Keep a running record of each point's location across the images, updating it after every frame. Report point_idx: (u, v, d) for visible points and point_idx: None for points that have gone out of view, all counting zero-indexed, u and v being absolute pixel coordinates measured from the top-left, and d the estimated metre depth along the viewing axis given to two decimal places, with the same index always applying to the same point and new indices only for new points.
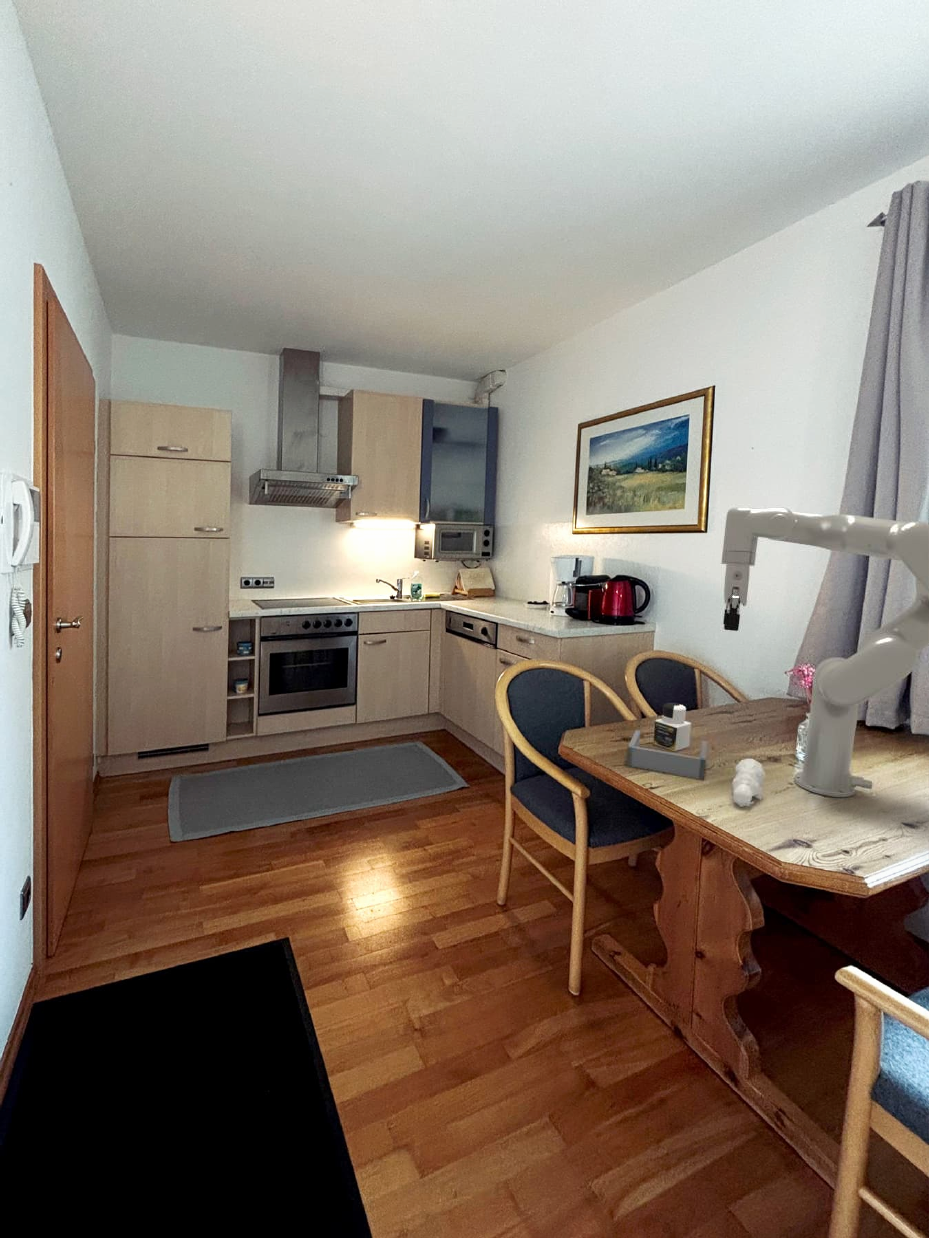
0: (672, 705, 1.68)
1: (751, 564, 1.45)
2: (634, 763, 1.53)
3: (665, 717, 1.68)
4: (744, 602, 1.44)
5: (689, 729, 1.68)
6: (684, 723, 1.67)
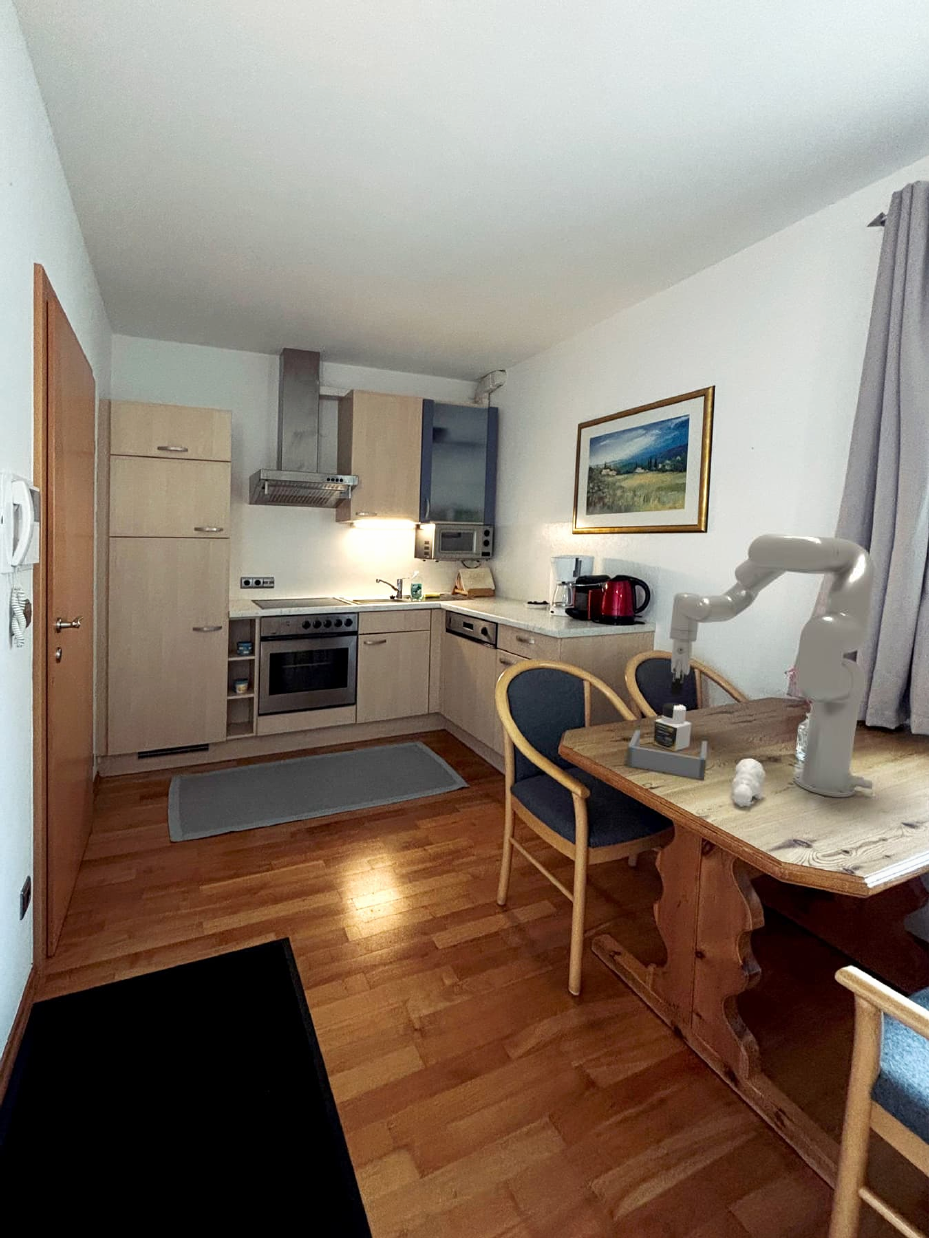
0: (672, 705, 1.68)
1: (693, 640, 1.75)
2: (634, 763, 1.53)
3: (665, 717, 1.68)
4: (686, 672, 1.74)
5: (689, 729, 1.68)
6: (684, 723, 1.67)
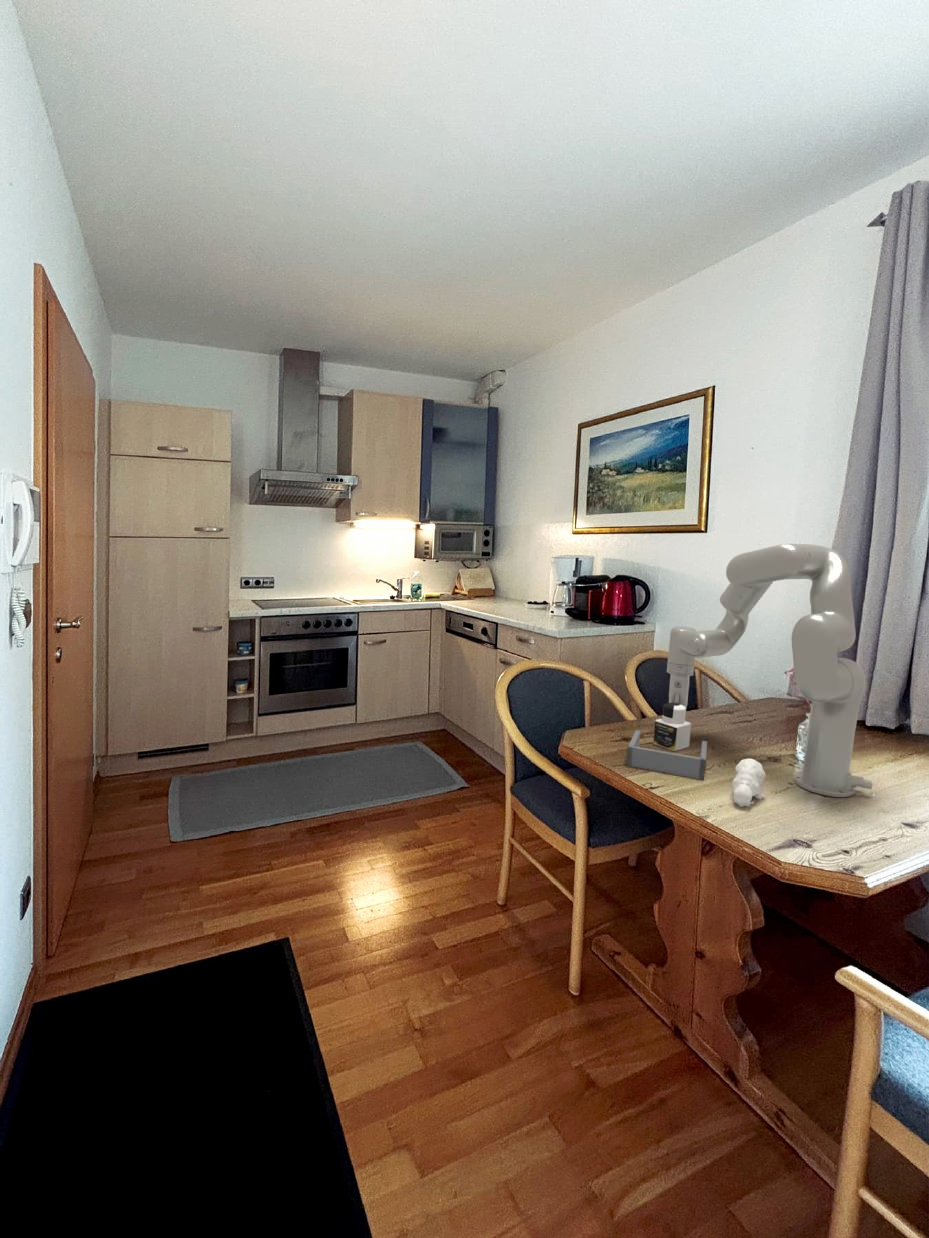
0: (672, 705, 1.68)
1: (690, 674, 1.76)
2: (634, 763, 1.53)
3: (665, 717, 1.68)
4: None
5: (689, 729, 1.68)
6: (684, 723, 1.67)
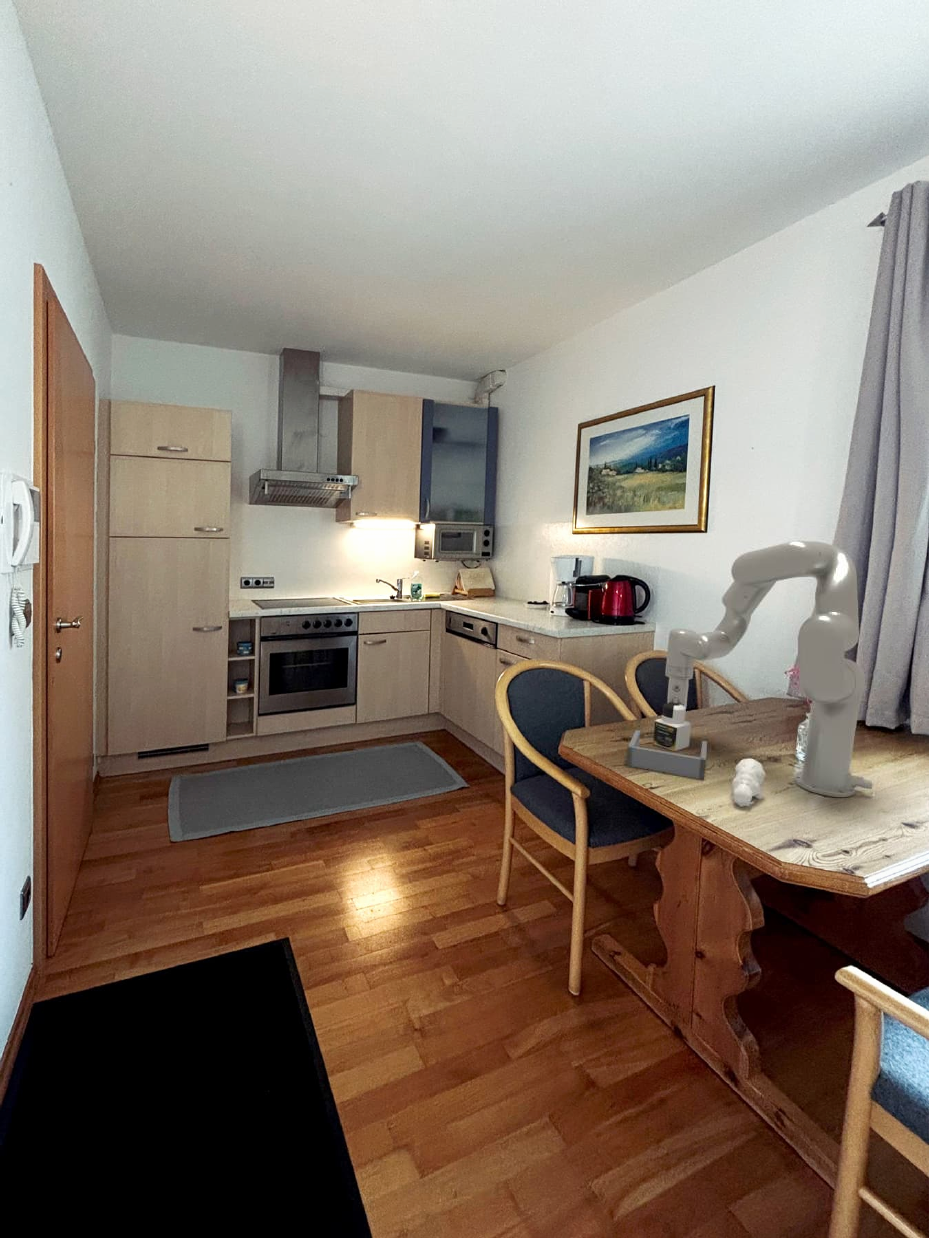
0: (672, 705, 1.68)
1: (689, 678, 1.71)
2: (634, 763, 1.53)
3: (665, 717, 1.68)
4: None
5: (689, 729, 1.68)
6: (684, 723, 1.67)
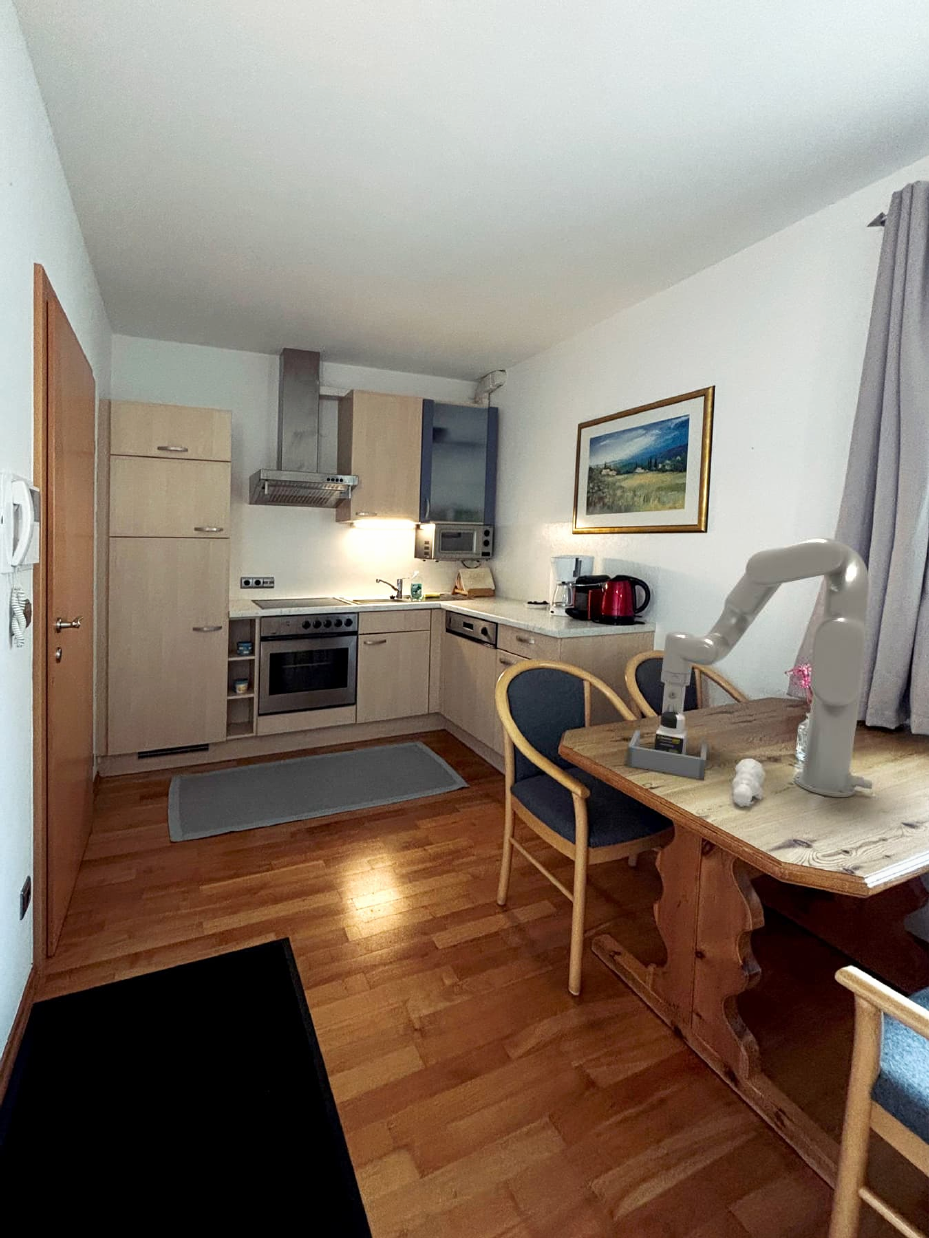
0: (673, 715, 1.58)
1: (685, 684, 1.62)
2: (634, 763, 1.53)
3: (667, 728, 1.58)
4: None
5: (686, 737, 1.61)
6: (683, 732, 1.60)
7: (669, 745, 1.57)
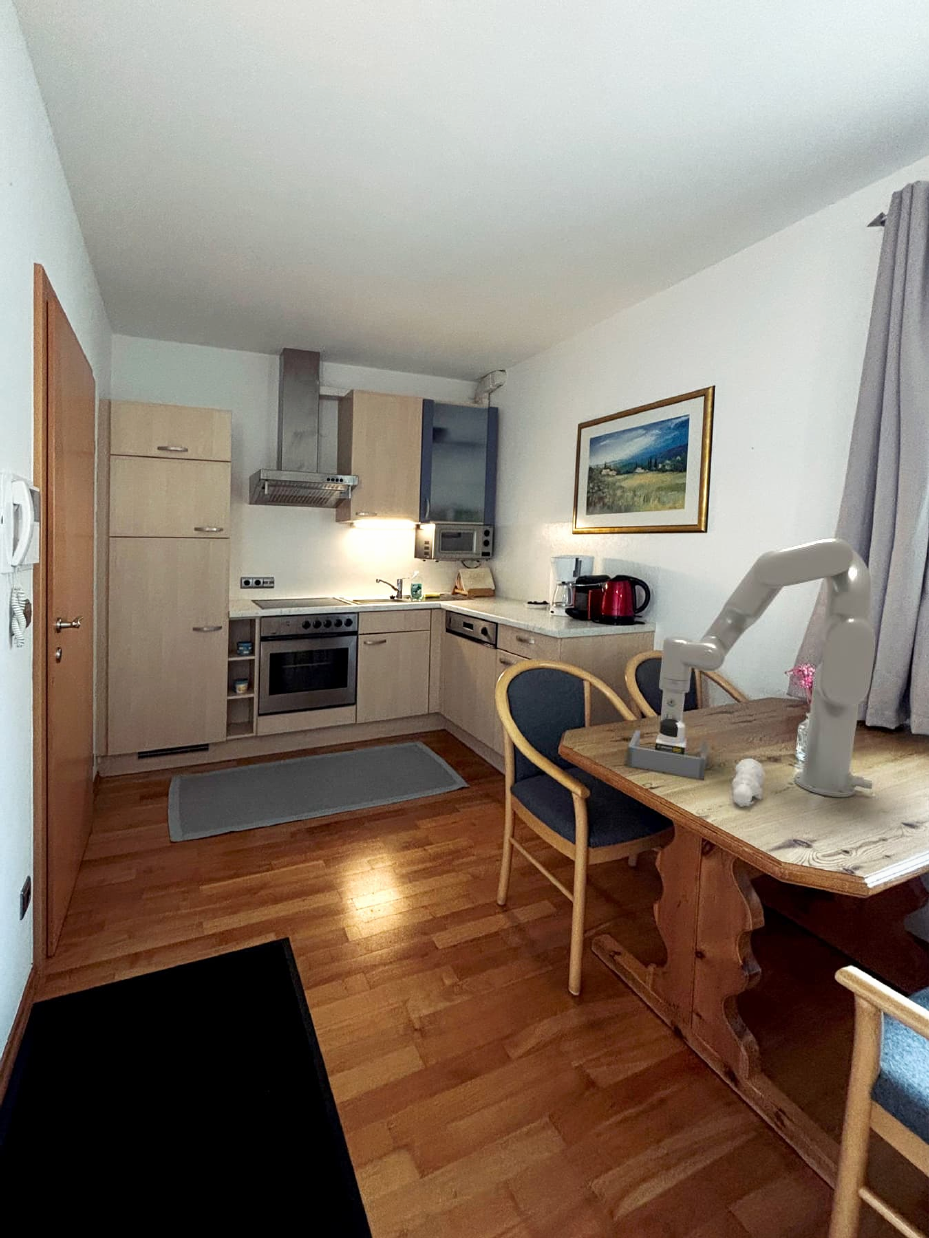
0: (673, 722, 1.51)
1: (685, 691, 1.55)
2: (634, 763, 1.53)
3: (668, 737, 1.51)
4: None
5: None
6: (683, 740, 1.53)
7: None
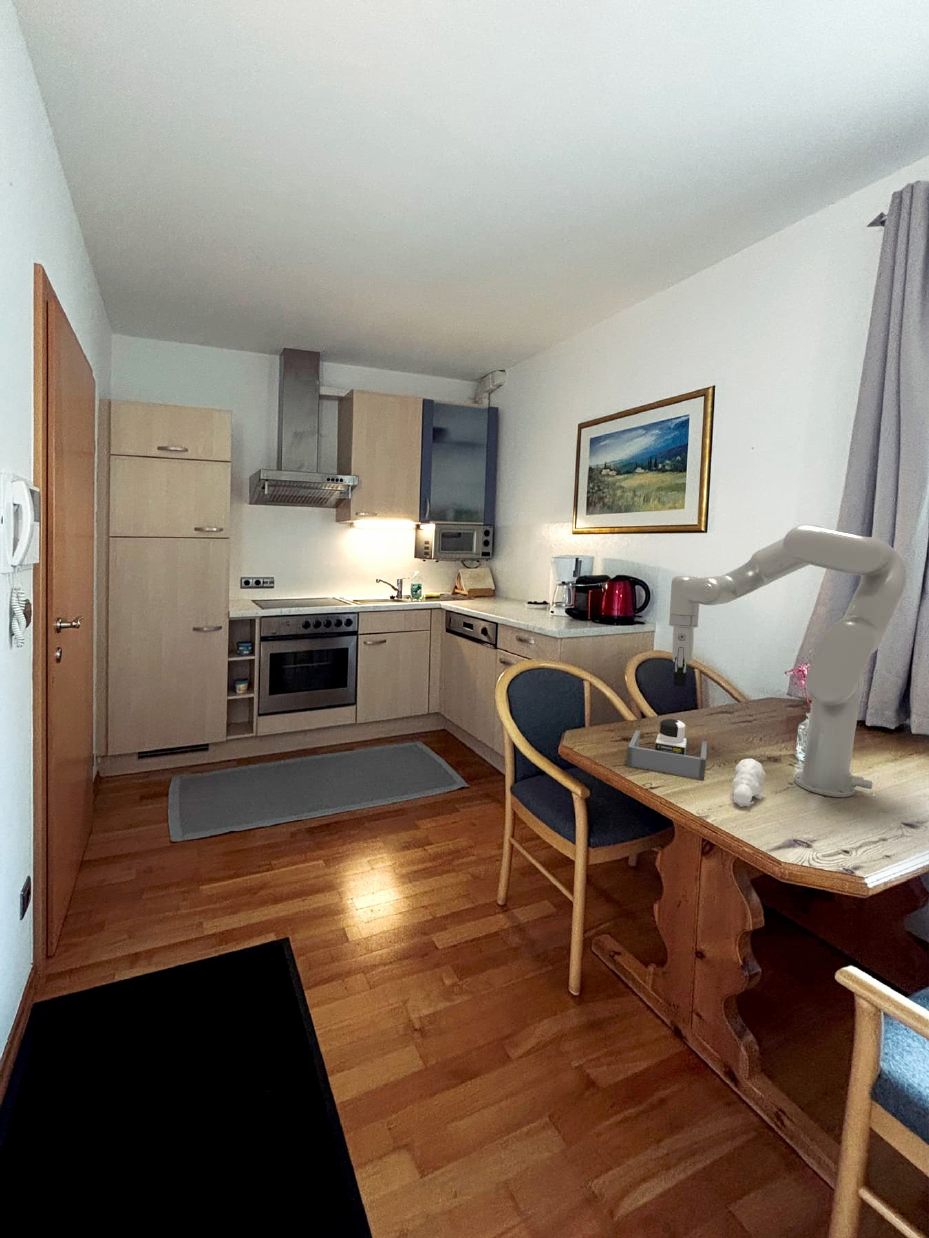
0: (673, 722, 1.51)
1: (694, 626, 1.63)
2: (634, 763, 1.53)
3: (668, 737, 1.51)
4: (689, 660, 1.62)
5: None
6: (683, 740, 1.53)
7: None
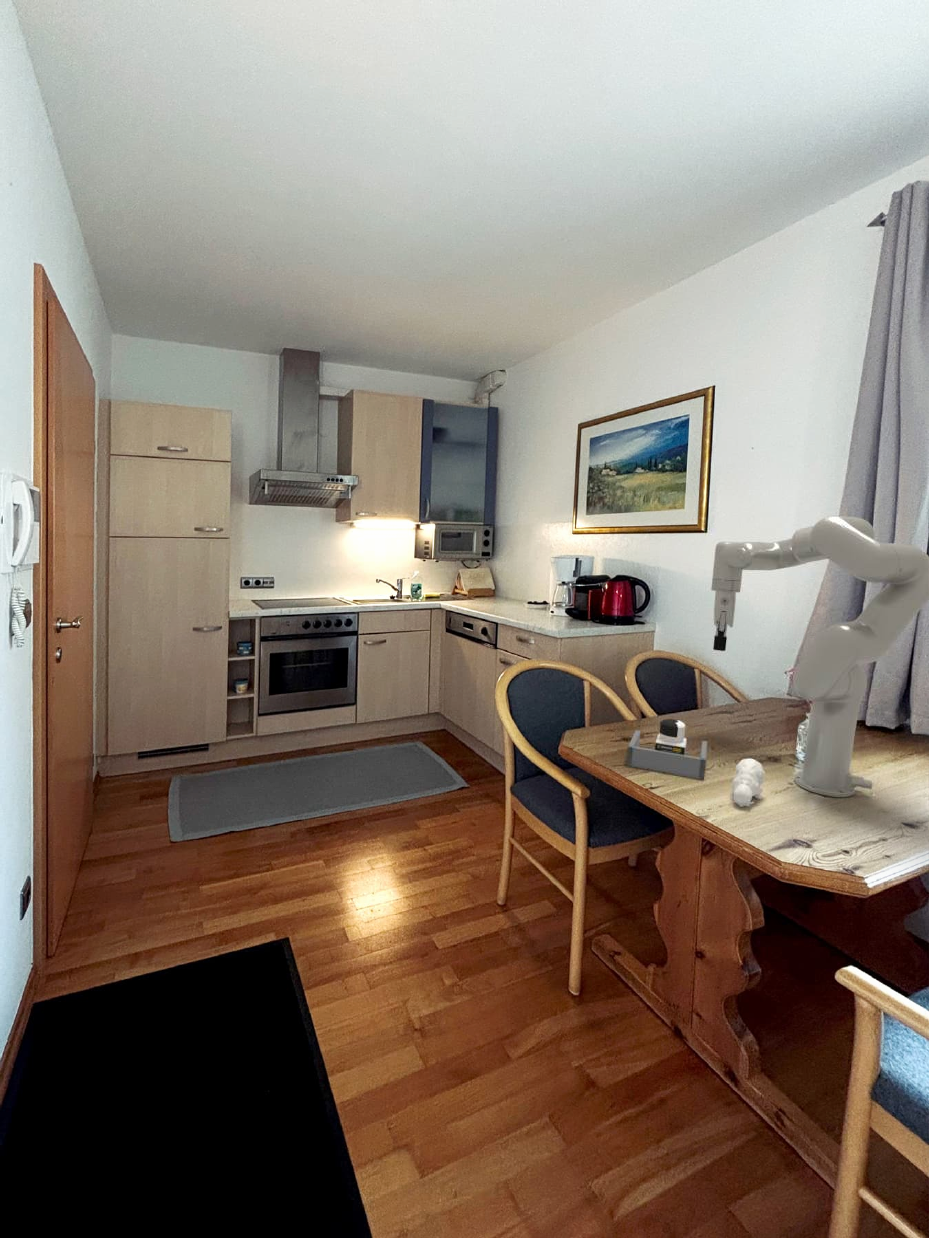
0: (673, 722, 1.51)
1: (737, 591, 1.66)
2: (634, 763, 1.53)
3: (668, 737, 1.51)
4: (731, 624, 1.65)
5: None
6: (683, 740, 1.53)
7: None
